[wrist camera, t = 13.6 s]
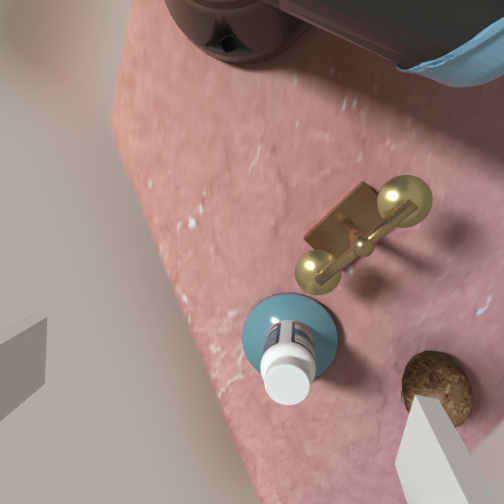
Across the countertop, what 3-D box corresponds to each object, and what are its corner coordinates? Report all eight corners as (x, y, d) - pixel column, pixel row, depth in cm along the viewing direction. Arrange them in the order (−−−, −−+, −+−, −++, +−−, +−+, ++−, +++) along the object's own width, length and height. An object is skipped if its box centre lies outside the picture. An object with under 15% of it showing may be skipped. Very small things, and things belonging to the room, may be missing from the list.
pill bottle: (268, 364, 43) (259, 413, 35) (262, 320, 42) (252, 359, 34) (316, 361, 43) (319, 411, 34) (311, 316, 42) (314, 356, 33)
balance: (381, 163, 38) (415, 161, 27) (411, 194, 39) (459, 207, 27) (287, 252, 42) (280, 287, 30) (316, 281, 42) (321, 326, 30)
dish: (225, 323, 44) (223, 327, 43) (302, 273, 42) (302, 277, 41) (278, 393, 45) (277, 399, 44) (355, 349, 43) (357, 354, 42)
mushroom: (388, 433, 41) (433, 446, 35) (373, 355, 43) (414, 356, 37) (445, 417, 44) (495, 427, 38) (429, 345, 45) (475, 345, 40)
